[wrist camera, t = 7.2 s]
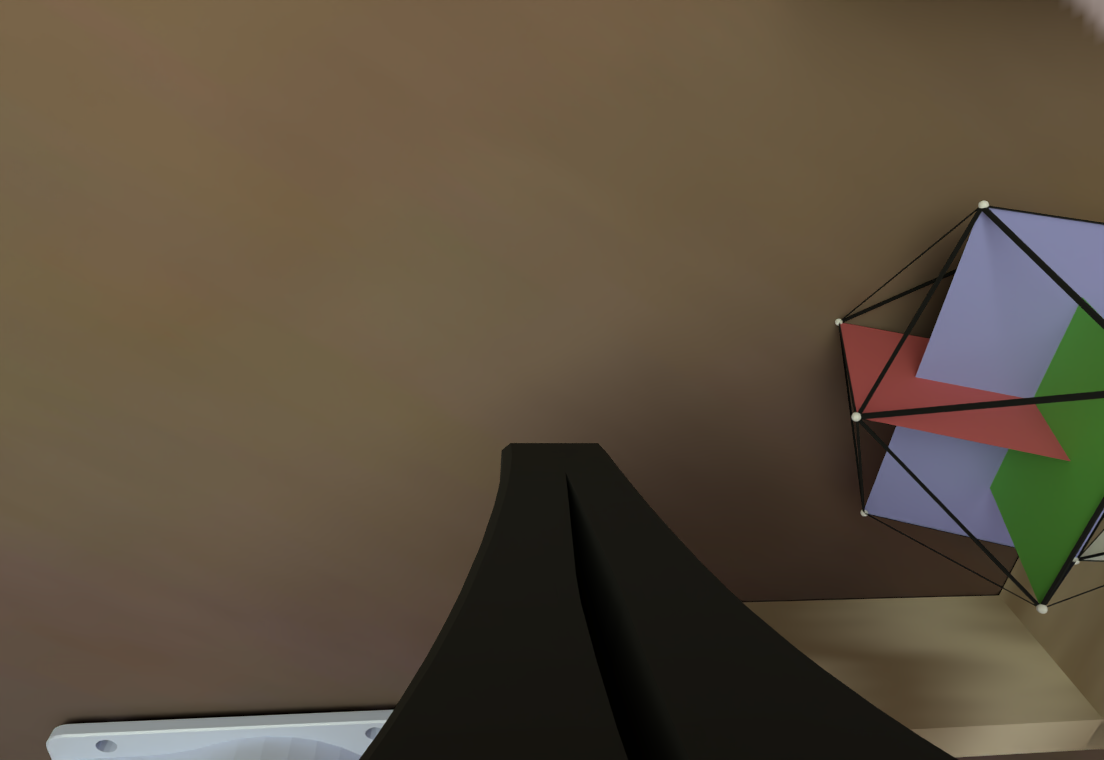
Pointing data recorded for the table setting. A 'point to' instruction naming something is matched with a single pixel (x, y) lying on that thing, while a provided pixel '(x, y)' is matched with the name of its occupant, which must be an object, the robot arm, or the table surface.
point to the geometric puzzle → (996, 397)
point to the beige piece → (968, 661)
